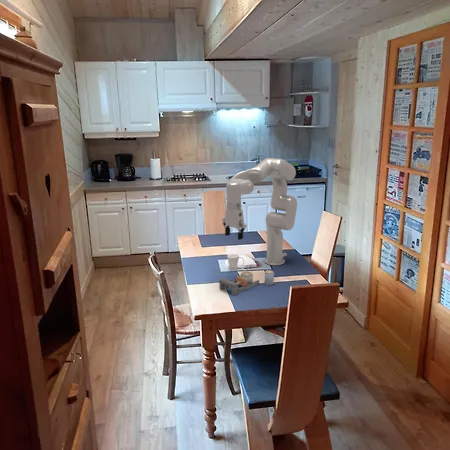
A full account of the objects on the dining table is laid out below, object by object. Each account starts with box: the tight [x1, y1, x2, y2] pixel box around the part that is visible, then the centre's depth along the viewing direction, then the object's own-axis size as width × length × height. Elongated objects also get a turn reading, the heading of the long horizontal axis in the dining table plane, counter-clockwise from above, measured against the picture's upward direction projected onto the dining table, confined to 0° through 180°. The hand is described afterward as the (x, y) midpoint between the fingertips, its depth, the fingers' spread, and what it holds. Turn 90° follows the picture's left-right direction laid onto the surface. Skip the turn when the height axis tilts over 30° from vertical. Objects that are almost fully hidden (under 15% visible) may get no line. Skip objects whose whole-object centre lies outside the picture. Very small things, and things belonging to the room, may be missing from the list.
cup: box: [226, 253, 245, 271], centre depth 249 cm, size 7×10×8 cm
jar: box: [264, 269, 275, 286], centre depth 227 cm, size 5×5×7 cm
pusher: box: [228, 275, 247, 289], centre depth 222 cm, size 10×7×4 cm
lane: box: [219, 277, 260, 296], centre depth 224 cm, size 20×11×6 cm, turn 134°
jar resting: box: [240, 271, 254, 284], centre depth 227 cm, size 6×6×6 cm
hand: (234, 237), depth 221 cm, fingers open, 9 cm apart
